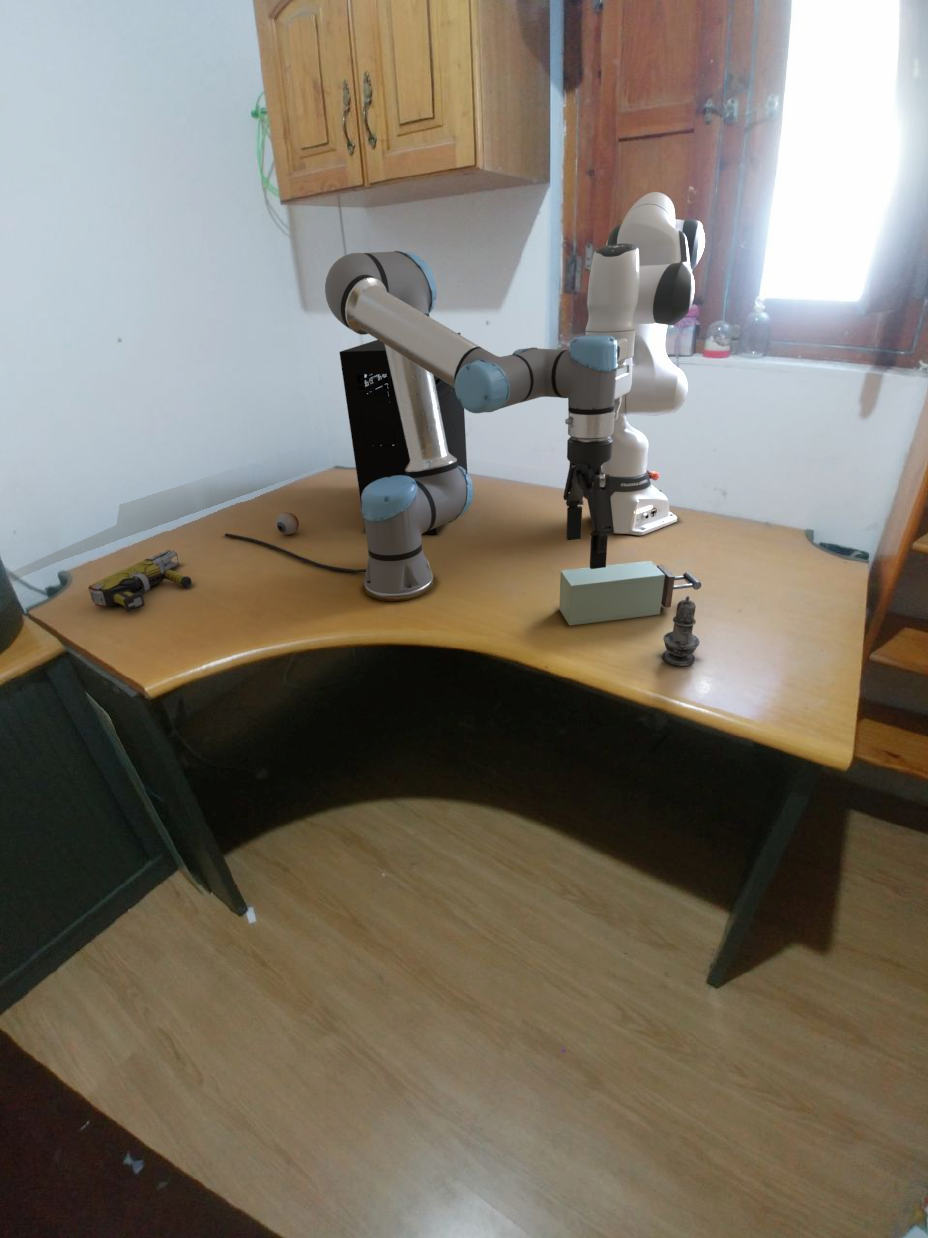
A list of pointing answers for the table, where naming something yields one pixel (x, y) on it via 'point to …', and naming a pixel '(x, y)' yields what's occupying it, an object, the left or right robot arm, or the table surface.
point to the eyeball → (287, 523)
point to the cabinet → (611, 592)
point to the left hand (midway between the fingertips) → (585, 552)
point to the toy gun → (136, 582)
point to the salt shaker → (681, 636)
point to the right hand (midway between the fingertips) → (603, 425)
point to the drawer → (670, 586)
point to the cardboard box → (389, 417)
